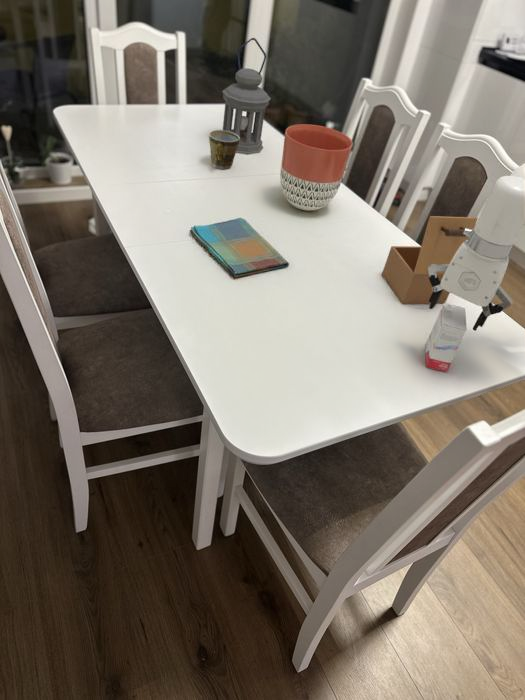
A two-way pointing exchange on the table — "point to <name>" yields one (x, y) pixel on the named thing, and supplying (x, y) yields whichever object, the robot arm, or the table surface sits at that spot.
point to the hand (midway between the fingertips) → (453, 316)
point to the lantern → (246, 107)
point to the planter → (313, 165)
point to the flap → (442, 241)
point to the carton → (409, 276)
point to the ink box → (445, 337)
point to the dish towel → (238, 247)
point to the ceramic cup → (223, 148)
